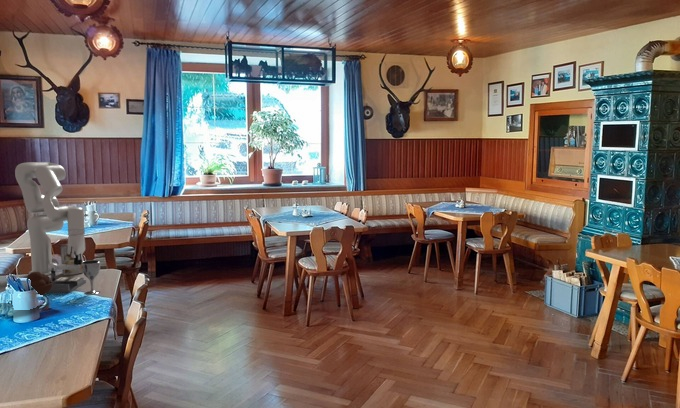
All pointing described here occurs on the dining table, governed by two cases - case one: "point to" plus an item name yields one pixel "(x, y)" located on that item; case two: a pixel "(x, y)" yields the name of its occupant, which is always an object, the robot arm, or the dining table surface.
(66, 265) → the swing arm
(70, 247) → the robot arm
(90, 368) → the dining table surface
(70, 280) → the label
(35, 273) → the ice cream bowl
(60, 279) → the label
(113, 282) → the dining table surface
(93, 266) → the wine glass
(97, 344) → the dining table surface
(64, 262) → the coffee box
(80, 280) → the psu chassis
